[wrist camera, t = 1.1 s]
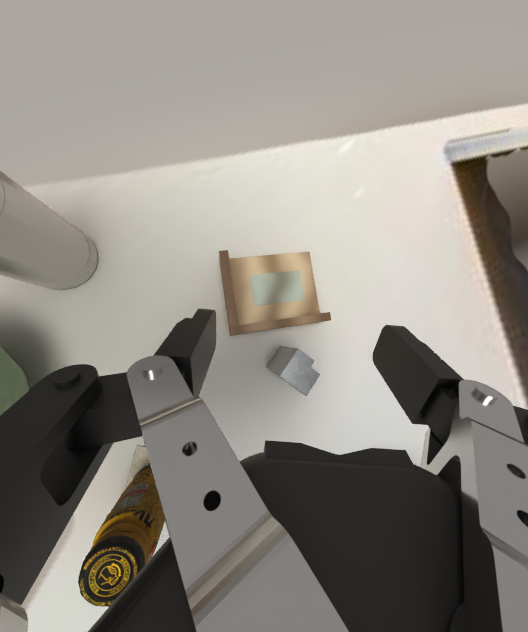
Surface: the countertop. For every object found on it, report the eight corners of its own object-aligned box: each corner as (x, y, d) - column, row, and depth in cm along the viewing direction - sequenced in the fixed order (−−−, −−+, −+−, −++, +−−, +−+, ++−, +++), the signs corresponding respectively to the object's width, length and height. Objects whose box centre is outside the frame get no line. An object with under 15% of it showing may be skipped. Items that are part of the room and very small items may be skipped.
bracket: (266, 366, 36) (280, 375, 27) (280, 346, 36) (298, 348, 27) (302, 393, 36) (328, 411, 27) (316, 373, 37) (345, 383, 28)
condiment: (120, 510, 30) (53, 620, 18) (137, 445, 31) (84, 508, 20) (175, 515, 31) (145, 621, 20) (189, 451, 32) (169, 515, 21)
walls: (230, 335, 34) (231, 335, 31) (219, 259, 35) (219, 250, 32) (321, 321, 37) (331, 320, 33) (309, 251, 38) (317, 243, 34)
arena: (230, 335, 35) (230, 335, 34) (219, 261, 36) (219, 259, 35) (318, 322, 38) (321, 321, 37) (307, 254, 39) (309, 251, 38)
